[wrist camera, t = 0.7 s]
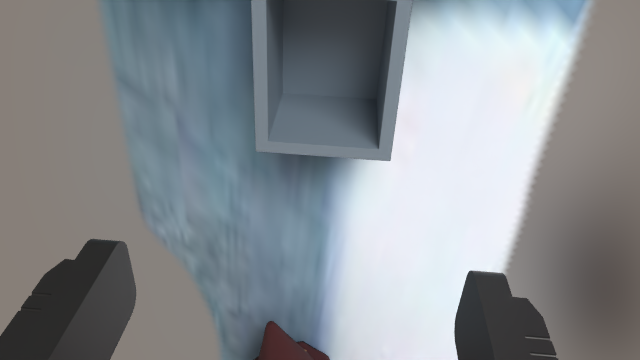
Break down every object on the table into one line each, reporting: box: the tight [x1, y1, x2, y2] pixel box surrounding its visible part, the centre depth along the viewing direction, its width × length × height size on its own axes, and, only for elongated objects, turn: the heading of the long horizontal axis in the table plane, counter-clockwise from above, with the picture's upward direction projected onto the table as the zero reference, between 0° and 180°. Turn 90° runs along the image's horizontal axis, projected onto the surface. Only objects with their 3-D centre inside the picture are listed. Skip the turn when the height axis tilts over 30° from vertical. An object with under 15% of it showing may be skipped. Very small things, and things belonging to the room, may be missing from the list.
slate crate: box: [251, 0, 413, 161], centre depth 25 cm, size 8×6×6 cm
